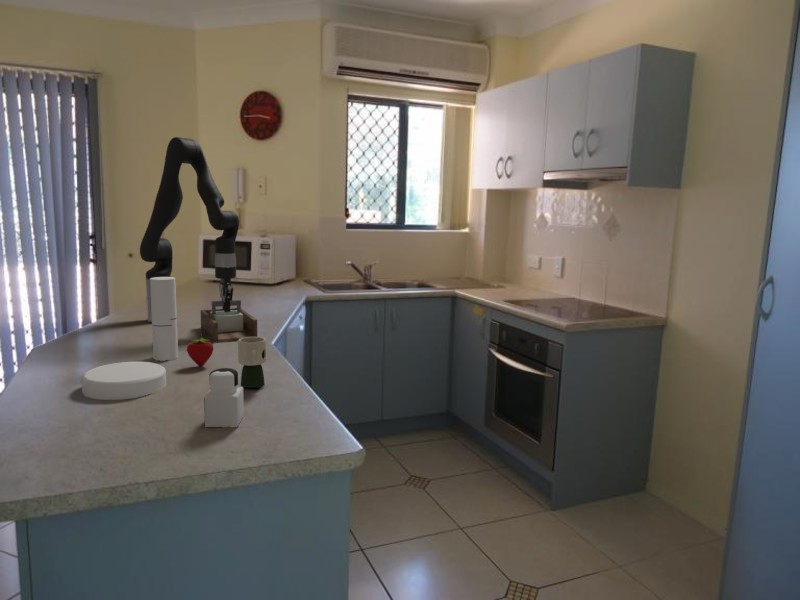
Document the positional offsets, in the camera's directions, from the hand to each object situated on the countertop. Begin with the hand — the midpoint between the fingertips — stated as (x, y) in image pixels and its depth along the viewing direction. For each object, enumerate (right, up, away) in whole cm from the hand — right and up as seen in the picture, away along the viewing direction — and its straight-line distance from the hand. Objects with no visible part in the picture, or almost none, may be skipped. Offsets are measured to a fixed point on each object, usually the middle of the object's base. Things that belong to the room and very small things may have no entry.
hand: (226, 310), depth 214 cm
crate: (0, -7, +1) cm, 7 cm away
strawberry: (+6, -16, -44) cm, 47 cm away
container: (-7, -19, -64) cm, 68 cm away
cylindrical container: (-8, -14, -36) cm, 39 cm away
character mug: (+26, -19, -61) cm, 69 cm away
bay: (+1, -8, -1) cm, 8 cm away
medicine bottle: (+26, -23, -86) cm, 93 cm away
